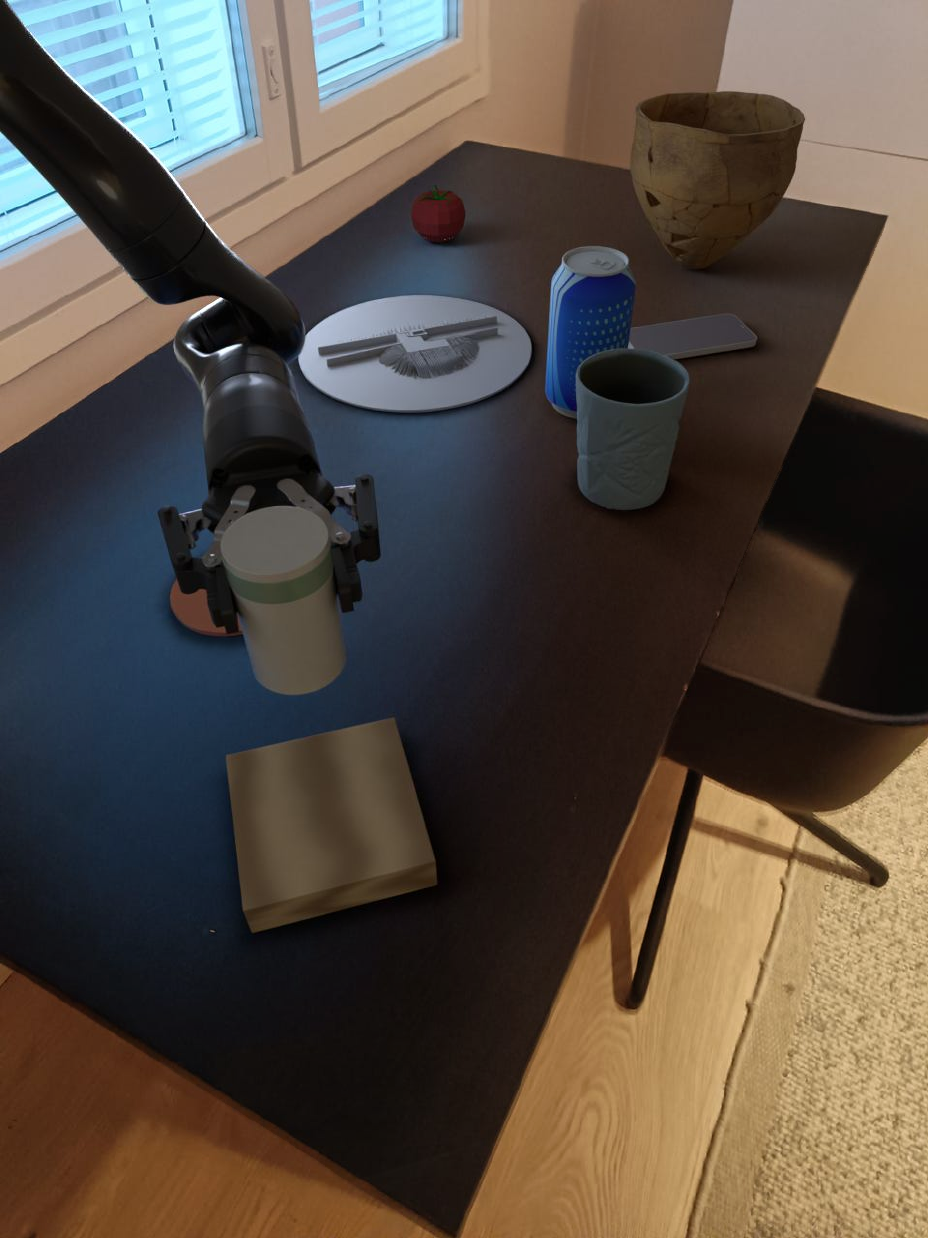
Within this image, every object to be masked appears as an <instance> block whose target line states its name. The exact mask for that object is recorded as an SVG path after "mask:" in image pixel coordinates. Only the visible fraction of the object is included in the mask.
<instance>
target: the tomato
mask: <svg viewBox="0 0 928 1238" xmlns="http://www.w3.org/2000/svg"><path fill="white" fill-rule="evenodd" d="M434 188H435V189H427V191H425V192H422V193H421V194H420V195H418V196H417V197H416V198H415V199H414V200H413V203H412V206H411V212H410V213H411V214H410V219H411V222H412V227H413V229H414V230H415V231H416V232H417V233H418V234H419V236H421V238H423V237H425V238H423V239H424V240H426V241H428V242H433V243H442V242H449V241H452V240H454V239H455V238H456V237H457V236H458V235H459V233H460V232H461V231H462V230H463V229H464V227H465V221H466V216H467V215H466V209H465V205H464V202H463V199H462V198H460V197H459V196H458V195H457V194H456V193H455V192H454V191H452V190H448V189H447V190H444V189H438V185H437V184H434ZM454 236H455V237H454ZM452 237H453V238H452ZM426 238H427V239H426ZM449 238H450V239H449ZM444 239H446V240H444Z"/></svg>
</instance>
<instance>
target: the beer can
mask: <svg viewBox="0 0 928 1238" xmlns="http://www.w3.org/2000/svg"><path fill="white" fill-rule="evenodd" d="M636 287H637V282H636V279H635V277H634V274H633V273H632V270H631V269H630V258H629V257H628V256H627V254H625V253H624V252H622V251H620V250H618V249H615V248H613V247H606V246H600V245H586V246H580V247H576V248H573V249H570V250H568V251H567V252H565V253H564V254H563V256H562V258H561V264H560V266H559V267H558V268H557V269H556V271H555V272H554V274H553V275H552V278H551V283H550V297H549V298H550V300H549V301H550V302H549V318H548V332H547V333H548V337H547V353H546V368H545V369H546V370H545V388H544V391H545V392H544V393H545V396H546V398H547V400H548V401H549V402H550V403H551V407H552V408H553V409H554V410H555V411H556V412H557V413H558V414H561V415H562V416H565V417H568V418H571V419H575V420H577V401H576V371H577V369H578V367H579V366H580V364H581V363H582V362H583V361H584V360H585V359H587V358H588V357H590V356H592V355H594V354H597V353H600V352H603V351H607V350H613V349H623V348H628V344H629V336H630V328H632V319H633V312H634V304H635V295H636ZM628 349H629V348H628Z"/></svg>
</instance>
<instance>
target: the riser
mask: <svg viewBox="0 0 928 1238" xmlns="http://www.w3.org/2000/svg"><path fill="white" fill-rule="evenodd" d="M403 746H404V745H403V742H402V738H401V735H400V732H399V728H398V725H397V720H396V718H395V717H390V718H385V719H381V720H376V721H372V722H368V723H363V724H358V725H354V726H350V727H345V728H341V729H337V730H332V731H327V732H323V733H319V734H315V735H314V734H313V735H310V736H306V737H305V736H304V737H301V738H296V739H291V740H288V741H283V742H278V743H274V744H270V745H266V746H261V747H257V748H256V747H255V748H252V749H247V750H243V751H238V752H234V753H230V754H226V755H225V761H226V773H227V780H228V790H229V796H230V797H229V798H230V806H231V815H232V824H233V833H234V843H235V853H236V860H237V861H236V862H237V869H238V878H239V888H240V896H241V905H242V906H241V907H242V912H243V914H244V917H245V920H246V922H247V924H248V927H249V929H250V932H251V934H255V933H258V932H261V931H266V930H271V929H274V928H278V927H281V926H286V925H288V924H293V923H297V922H300V921H305V920H309V919H312V918H315V917H320V916H323V915H327V914H331V913H335V912H339V911H343V910H347V909H350V908H353V907H357V906H362V905H365V904H370V903H372V902H377V901H380V900H381V901H382V900H384V899H388V898H389V899H390V898H392V897H397V896H400V895H403V894H407V893H411V892H415V891H418V890H424V889H426V888H430V887H434V886H437V885H438V874H437V860H436V857H435V854H434V850H433V846H432V843H431V840H430V836H429V833H428V829H427V825H426V823H425V819H424V815H423V812H422V809H421V805H420V802H419V798H418V794H417V791H416V788H415V783H414V781H413V780H414V779H413V777H412V773H411V771H410V766H409V763H408V760H407V756H406V752H405V749H404V747H403Z"/></svg>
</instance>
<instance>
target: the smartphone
mask: <svg viewBox="0 0 928 1238" xmlns="http://www.w3.org/2000/svg"><path fill="white" fill-rule="evenodd" d="M757 340H758V337H757V335H756V334H755V333H754V332H753V331H752V330H751V329H750V328H749V327H748V326H747V325H746V324H744V322H743V321H742V320H741V319H740V318H739V317H737V315H734V314H732V313H721V314H714V315H709V316H708V315H707V316H701V317H695V318H687V319H682V320H676V321H668V322H663V323H661V322H660V323H656V324H650V325H642V326H635V327H631V328H630V336H629V344H628V349H643V350H649V351H654V352H658V353H661V354H663V355H666V356H667V357H669V358H671V359H673V360H678V359H679V360H680V359H686V358H692V357H697V356H704V355H705V356H706V355H711V354H715V353H716V354H717V353H723V352H731V351H735V350H736V351H737V350H741V349H748V348H752V347H755V346H756V344H757Z"/></svg>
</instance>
